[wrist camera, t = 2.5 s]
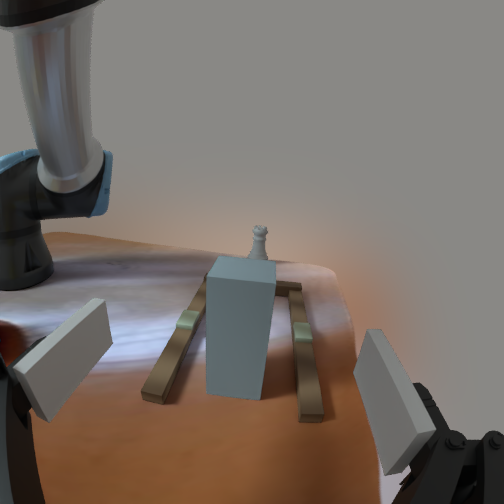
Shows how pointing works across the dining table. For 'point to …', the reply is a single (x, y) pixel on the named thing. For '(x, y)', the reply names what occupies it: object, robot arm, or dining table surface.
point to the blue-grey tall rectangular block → (238, 325)
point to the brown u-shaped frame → (302, 348)
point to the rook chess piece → (259, 244)
